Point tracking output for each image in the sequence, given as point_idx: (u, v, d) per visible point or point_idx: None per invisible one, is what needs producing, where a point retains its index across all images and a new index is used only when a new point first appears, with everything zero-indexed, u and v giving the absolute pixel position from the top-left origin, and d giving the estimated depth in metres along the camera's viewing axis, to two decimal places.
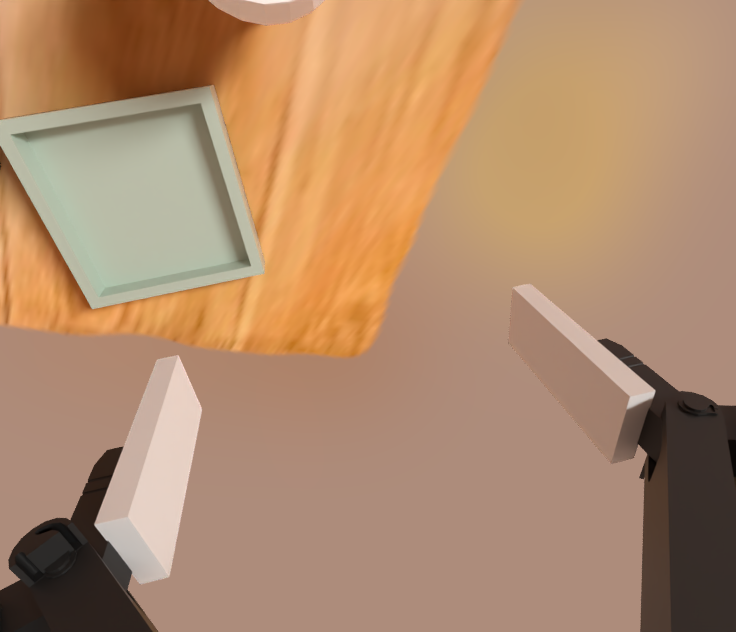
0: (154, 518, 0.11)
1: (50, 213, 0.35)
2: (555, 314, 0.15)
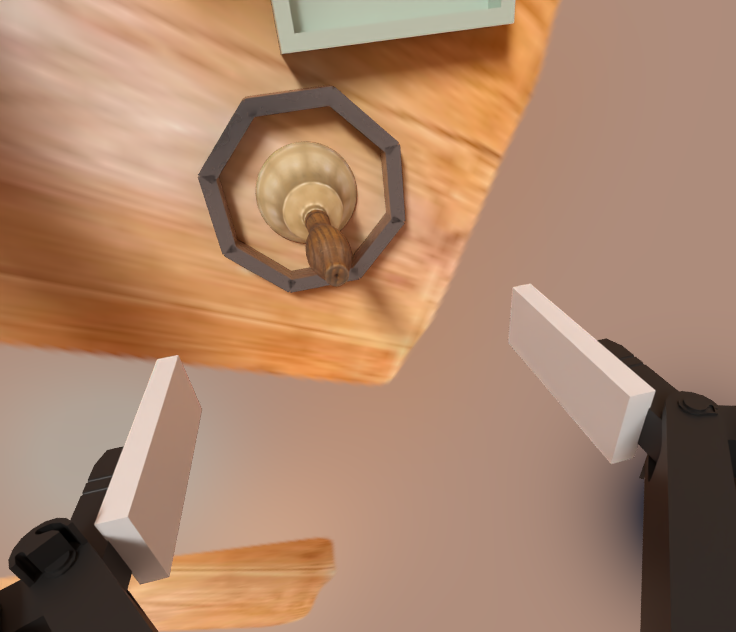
0: (154, 518, 0.11)
1: (386, 24, 0.28)
2: (555, 314, 0.15)
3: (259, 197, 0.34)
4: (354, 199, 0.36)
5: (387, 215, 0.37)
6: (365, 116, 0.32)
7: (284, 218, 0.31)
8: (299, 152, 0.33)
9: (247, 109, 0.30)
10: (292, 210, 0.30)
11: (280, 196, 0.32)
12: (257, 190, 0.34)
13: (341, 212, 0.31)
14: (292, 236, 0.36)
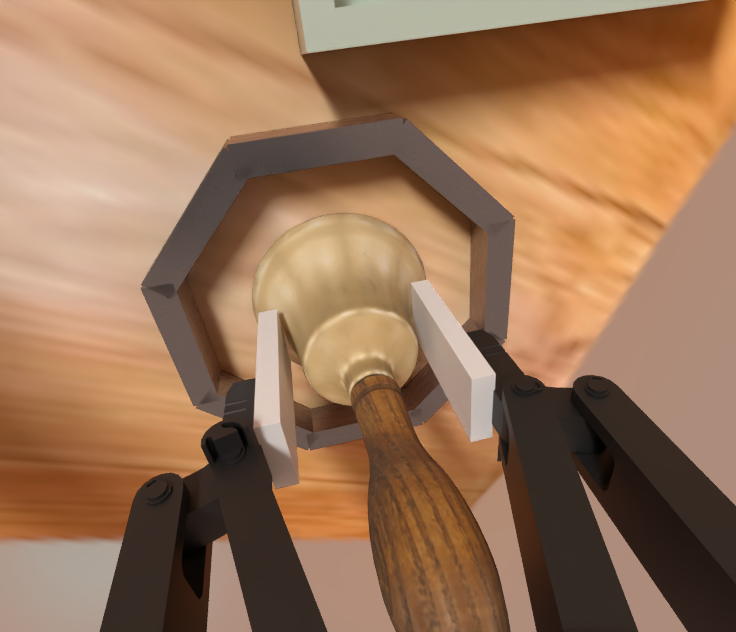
0: (288, 432, 0.13)
1: None
2: (438, 307, 0.16)
3: (258, 309, 0.19)
4: None
5: (473, 325, 0.22)
6: (459, 173, 0.17)
7: (306, 373, 0.16)
8: (332, 235, 0.18)
9: (234, 164, 0.15)
10: (322, 364, 0.15)
11: (297, 323, 0.17)
12: (255, 297, 0.19)
13: (415, 357, 0.16)
14: None
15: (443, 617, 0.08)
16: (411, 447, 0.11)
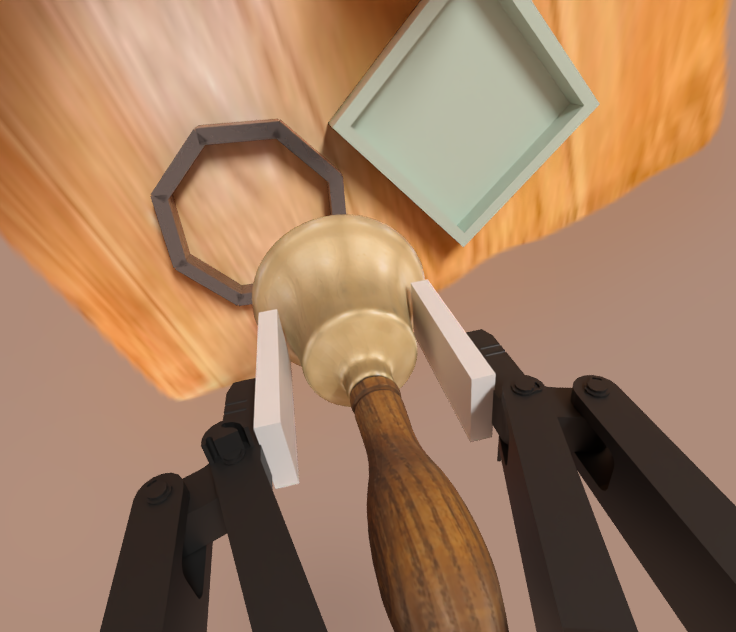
0: (288, 432, 0.13)
1: (403, 178, 0.36)
2: (438, 307, 0.16)
3: (258, 310, 0.19)
4: None
5: None
6: (343, 210, 0.37)
7: (306, 375, 0.16)
8: (332, 236, 0.18)
9: (276, 129, 0.33)
10: (322, 364, 0.15)
11: (297, 324, 0.17)
12: (254, 298, 0.19)
13: (415, 358, 0.16)
14: None
15: (442, 618, 0.08)
16: (410, 448, 0.11)
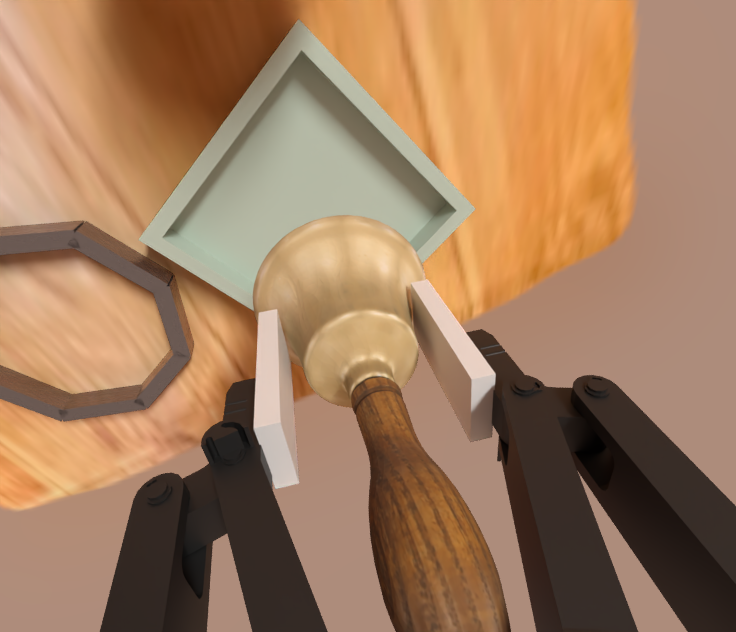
0: (288, 432, 0.13)
1: (241, 290, 0.30)
2: (438, 307, 0.16)
3: (259, 311, 0.19)
4: None
5: (138, 389, 0.35)
6: (177, 321, 0.32)
7: (307, 375, 0.16)
8: (333, 237, 0.18)
9: (71, 238, 0.27)
10: (323, 365, 0.15)
11: (298, 326, 0.17)
12: (255, 299, 0.19)
13: (416, 359, 0.16)
14: None
15: (444, 620, 0.08)
16: (412, 449, 0.11)
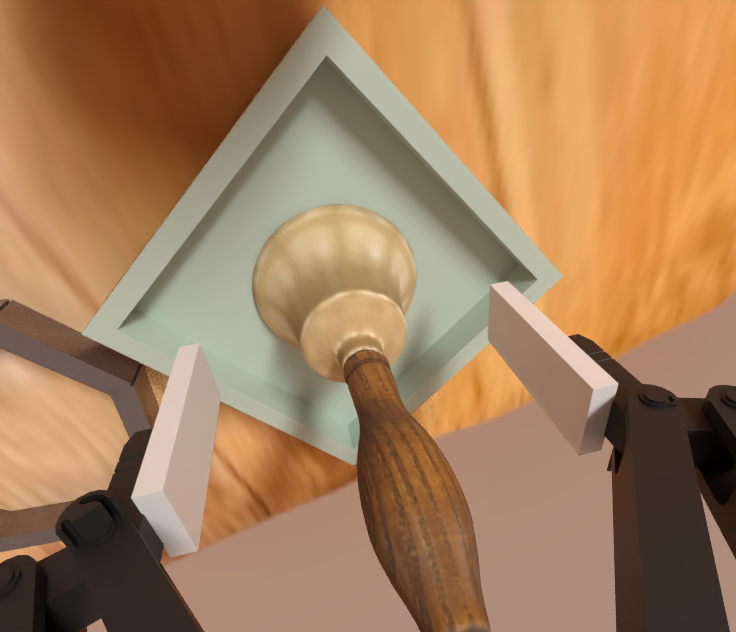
0: (184, 494, 0.12)
1: (235, 392, 0.21)
2: (529, 310, 0.15)
3: (258, 294, 0.20)
4: (413, 291, 0.22)
5: None
6: (147, 428, 0.23)
7: (303, 351, 0.17)
8: (327, 224, 0.19)
9: None
10: (318, 341, 0.16)
11: (295, 306, 0.18)
12: (255, 283, 0.20)
13: (404, 337, 0.17)
14: None
15: (419, 542, 0.09)
16: (397, 410, 0.13)
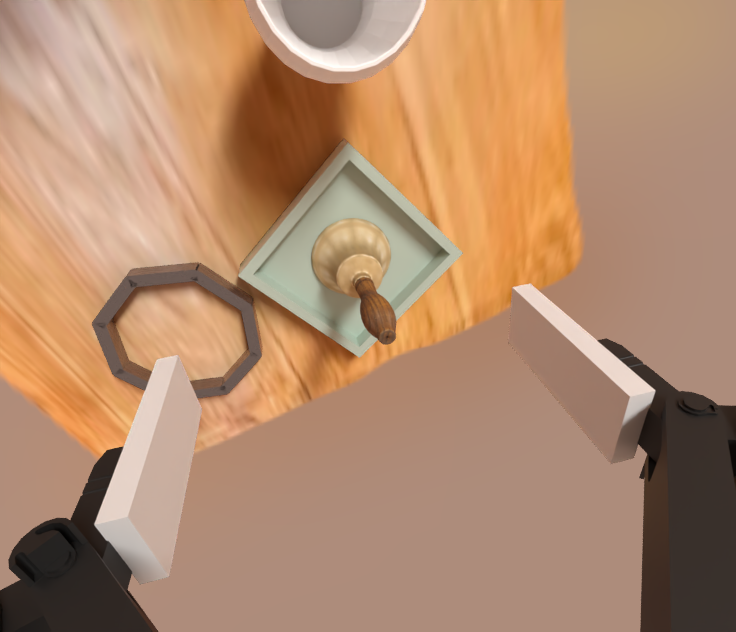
0: (154, 518, 0.11)
1: (301, 309, 0.44)
2: (555, 314, 0.15)
3: (314, 260, 0.43)
4: (389, 260, 0.44)
5: (221, 380, 0.49)
6: (255, 330, 0.45)
7: (337, 281, 0.39)
8: (347, 227, 0.41)
9: (193, 275, 0.41)
10: (344, 276, 0.39)
11: (333, 263, 0.40)
12: (313, 255, 0.43)
13: (381, 276, 0.40)
14: (339, 290, 0.45)
15: (377, 315, 0.31)
16: (374, 292, 0.35)
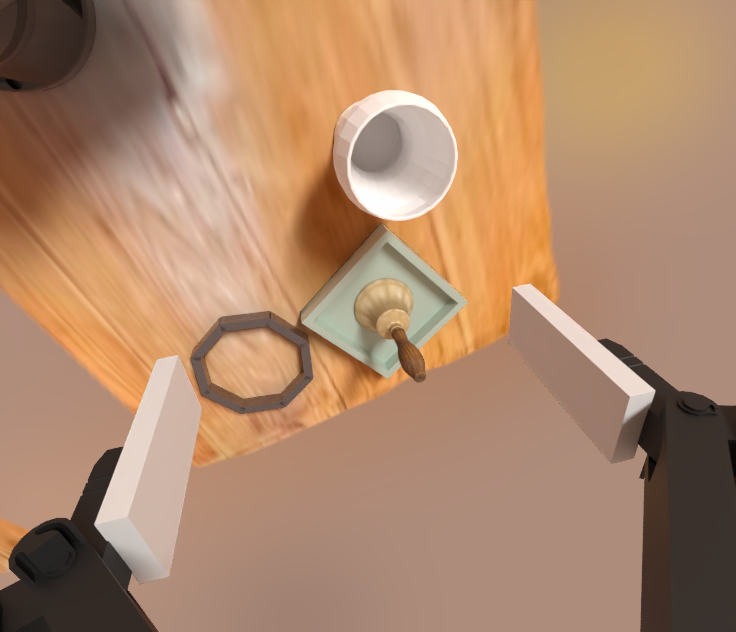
0: (154, 518, 0.11)
1: (346, 345, 0.58)
2: (555, 314, 0.15)
3: (356, 309, 0.57)
4: (412, 307, 0.58)
5: (280, 396, 0.63)
6: (309, 360, 0.59)
7: (377, 328, 0.54)
8: (382, 285, 0.55)
9: (267, 322, 0.55)
10: (382, 325, 0.53)
11: (373, 314, 0.54)
12: (355, 305, 0.57)
13: (409, 324, 0.54)
14: (374, 330, 0.59)
15: (412, 362, 0.46)
16: (407, 341, 0.49)
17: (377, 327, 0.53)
